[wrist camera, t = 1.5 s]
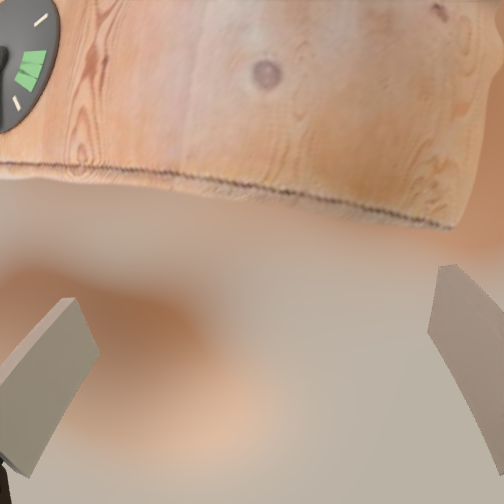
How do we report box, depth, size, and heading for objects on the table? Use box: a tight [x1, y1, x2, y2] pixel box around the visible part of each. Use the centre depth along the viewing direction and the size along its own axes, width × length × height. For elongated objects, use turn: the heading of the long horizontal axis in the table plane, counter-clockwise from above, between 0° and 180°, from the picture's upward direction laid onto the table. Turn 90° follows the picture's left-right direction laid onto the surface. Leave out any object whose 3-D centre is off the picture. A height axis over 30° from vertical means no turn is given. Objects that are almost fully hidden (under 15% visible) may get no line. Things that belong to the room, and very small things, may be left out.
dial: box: [0, 0, 60, 133], centre depth 26 cm, size 22×22×2 cm
